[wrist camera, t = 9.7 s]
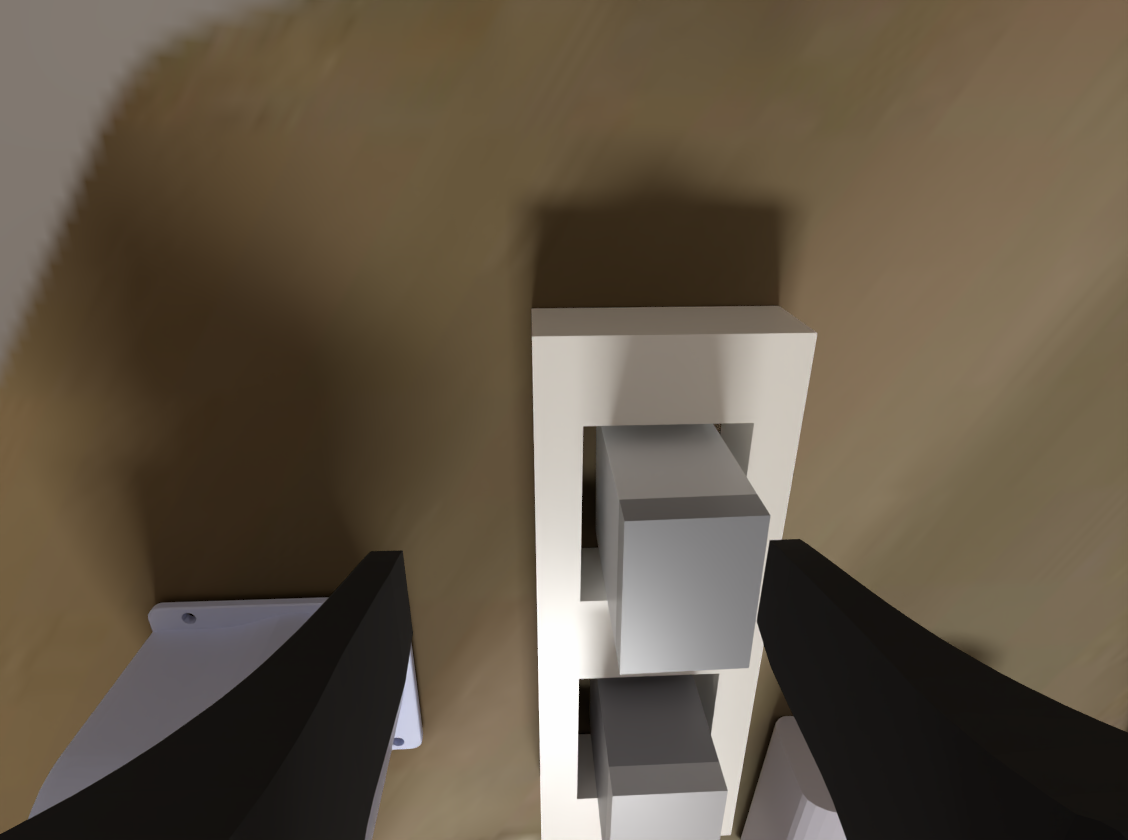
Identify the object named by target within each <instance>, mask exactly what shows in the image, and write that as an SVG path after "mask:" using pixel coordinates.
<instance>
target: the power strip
mask: <svg viewBox="0 0 1128 840" xmlns="http://www.w3.org/2000/svg"><path fill="white" fill-rule="evenodd" d="M531 313H532V365H533V418H534V470H535V522H536V575H537V627H538V679H539V731H540V784H541V836H542V840H602V837H601V828H600V818H599V809H598V799H597V789H596V780H595V770H594V761H593V751H592V742H591V734H578V710H579V679H588V678H614V677H640V676H667V675H693V677H694V680H695V684H696V687H697V690H698V694H699V697H700V700H701V703H702V707H703V710H704V713H705V717H706V720H707V723H708V727H709V730H710V733H711V737H712V740H713V743H714V747H715V750H716V753H717V756H718V760H719V763H720V766H721V770H722V773H723V776H724V780H725V783H726V786H727V790H728V793H727V799H726V805H725V811H724V817H723V823H722V830H721V835H731V830H732V825H733V819H734V813H735V807H736V801H737V796H738V790H739V784H740V778H741V772H742V767H743V761H744V755H745V749H746V744H747V738H748V732H749V726H750V720H751V715H752V709H753V703H754V697H755V691H756V686H757V680H758V674H759V668H760V663H761V657H762V651H763V645H764V644H763V641H762V638H761V634H760V631H759V628H758V624H757V615H758V609H759V602H760V596H761V590H762V584H763V578H764V572H765V566H766V560H767V553H768V547H769V541H770V540H782V535H783V529H784V524H785V518H786V512H787V506H788V500H789V495H790V489H791V483H792V477H793V471H794V466H795V460H796V454H797V448H798V443H799V437H800V431H801V425H802V419H803V414H804V408H805V402H806V396H807V390H808V385H809V379H810V373H811V367H812V362H813V356H814V350H815V344H816V338H817V332H816V331H814V330H813V329H811V328H810V327H808V326H807V325H806V324H804V323H803V322H801V321H800V320H799V319H797V318H796V317H794V316H793V315H792V314H790V313H789V312H787V311H786V310H785V309H783V308H782V307H780V306H715V307H622V308H531ZM721 423H722V424H721ZM670 424H721V432H720V436H721V437H722V439H723V440H724V442H725V444H726V445H727V447H728V448H729V450H730V451H731V453H732V455H733V456H734V458H735V459H736V461H737V463H738V464H739V466H740V467H741V469H742V471H743V472H744V474H745V475H746V477H747V479H748V480H749V482H750V483H751V485H752V487H753V488H754V490H755V491H756V493H757V495H758V496H759V498H760V499H761V501H762V503H763V504H764V506H765V507H766V509H767V511H768V512H769V514H770V515H771V516H770V523H769V530H768V537H767V544H766V551H765V558H764V565H763V572H762V579H761V586H760V594H759V601H758V608H757V615H756V622H755V629H754V636H753V643H752V650H751V657H750V664H749V668H740V669H720V670H701V671H681V672H661V673H641V674H622V675H620V672H619V666H618V660H617V654H616V648H615V643H614V637H613V631H612V625H611V619H610V613H609V607H608V601H607V595H606V589H605V583H604V577H603V571H602V566H601V560H600V554H599V548H581V526H582V465H583V426H619V425H670Z"/></svg>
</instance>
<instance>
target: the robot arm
mask: <svg viewBox="0 0 1128 840" xmlns="http://www.w3.org/2000/svg"><path fill="white" fill-rule="evenodd" d="M188 613H191V614H193V615H194V616H195V617H194V616H191V615H189V614H188ZM148 620H149V622H150V625H151V628H152V631H153V632H152V634H151V635H150V636H149V638H148V639H147V640H146V642H145V643H144V644H143V646H142V647H141V648H140V650H139V651H138V652H137V654H136V655H135V656H134V658H133V659H132V660H131V662H130V663H129V664H128V666H127V667H126V669H125V670H124V671H123V673H122V674H121V675H120V677H119V678H118V679H117V681H116V682H115V683H114V685H113V686H112V687H111V689H110V690H109V691H108V693H107V694H106V695H105V697H104V698H103V699H102V701H101V702H100V703H99V705H98V706H97V708H96V709H95V710H94V712H93V713H92V714H91V716H90V717H89V718H88V720H87V721H86V722H85V724H84V725H83V726H82V728H81V729H80V730H79V732H78V733H77V734H76V736H75V737H74V738H73V740H72V741H71V742H70V744H69V745H68V746H67V748H66V749H65V751H64V752H63V753H62V755H61V756H60V757H59V759H58V760H57V762H56V763H55V765H54V766H53V768H52V769H51V771H50V772H49V774H48V776H47V778H46V780H45V782H44V784H43V785H42V787H41V789H40V791H39V794H38V796H37V798H36V800H35V803H34V805H33V807H32V810H31V813H30V815H29V818H28V820H26V821H24V822H22V823H21V824H19V825H17V826H15V827H13V828H11V829H9V830H8V831H6V832H4V833H2V834H0V840H372V837H373V832H374V828H375V823H376V819H377V814H378V810H379V805H380V800H381V796H382V791H383V787H384V782H385V778H386V773H387V768H388V764H389V759H390V755H391V750H392V749H412V748H416V747H418V746H420V744H421V743H422V738H423V729H422V721H421V713H420V705H419V697H418V689H417V681H416V673H415V666H414V658H413V650H412V635H413V631H412V623H411V615H410V607H409V599H408V591H407V583H406V574H405V566H404V558H403V551H371V552H370V553H369V554H368V555H367V556H366V557H365V558H364V559H363V560H362V561H361V562H360V563H359V564H358V565H357V567H356V568H355V569H354V570H353V571H352V572H351V573H350V574H349V576H348V577H347V578H346V579H345V580H344V581H343V582H342V583H341V585H340V586H339V587H338V588H337V589H336V590H335V591H334V592H333V593H332V595H331V596H330V597H323V598H291V599H260V600H228V601H197V602H165V603H158V604H156V605H155V606H154V607H153V608H152V609H151V611H150V612H149V614H148ZM757 624H758V628H759V631H760V634H761V638H762V641H763V644H764V647H765V650H766V653H767V656H768V659H769V662H770V665H771V668H772V670H773V673H774V675H775V677H776V679H777V682H778V684H779V686H780V688H781V690H782V692H783V694H784V697H785V699H786V701H787V703H788V705H789V707H790V709H791V712H792V714H793V716H794V718H795V720H796V722H797V724H798V726H799V728H800V731H801V733H802V735H803V737H804V739H805V741H806V743H807V745H808V747H809V750H810V752H811V754H812V756H813V758H814V760H815V762H816V764H817V766H818V769H819V771H820V773H821V775H822V777H823V780H824V782H825V784H826V787H827V789H828V791H829V794H830V796H831V798H832V801H833V803H834V806H835V809H836V812H837V814H838V817H839V820H840V823H841V826H842V828H843V831H844V834H845V837H846V839H847V840H1128V732H1125V731H1123V730H1120V729H1118V728H1116V727H1113V726H1111V725H1108V724H1106V723H1104V722H1101V721H1099V720H1097V719H1094V718H1092V717H1090V716H1088V715H1085V714H1083V713H1081V712H1079V711H1076V710H1074V709H1072V708H1070V707H1068V706H1065V705H1063V704H1061V703H1059V702H1057V701H1055V700H1053V699H1051V698H1049V697H1047V696H1045V695H1043V694H1041V693H1039V692H1037V691H1035V690H1032V689H1030V688H1028V687H1026V686H1024V685H1022V684H1020V683H1018V682H1016V681H1015V680H1013V679H1011V678H1009V677H1007V676H1005V675H1003V674H1001V673H999V672H997V671H996V670H994V669H992V668H990V667H989V666H987V665H985V664H983V663H982V662H980V661H978V660H976V659H974V658H973V657H971V656H969V655H967V654H966V653H964V652H962V651H960V650H959V649H957V648H955V647H954V646H952V645H950V644H949V643H947V642H945V641H944V640H942V639H941V638H939V637H937V636H936V635H934V634H933V633H931V632H930V631H928V630H927V629H925V628H924V627H922V626H921V625H919V624H918V623H916V622H915V621H913V620H911V619H910V618H908V617H907V616H905V615H904V614H903V613H901V612H900V611H898V610H897V609H895V608H894V607H892V606H891V605H890V604H888V603H887V602H885V601H884V600H883V599H881V598H880V597H878V596H877V595H876V594H874V593H873V592H871V591H870V590H869V589H867V588H866V587H865V586H863V585H862V584H861V583H859V582H858V581H856V580H855V579H854V578H852V577H851V576H850V575H848V574H847V573H846V572H844V571H843V570H842V569H840V568H839V567H838V566H836V565H835V564H834V563H832V562H831V561H830V560H828V559H827V558H826V557H824V556H823V555H822V554H820V553H819V552H818V551H816V550H815V549H814V548H812V547H811V546H809V545H808V544H806V543H805V542H803V541H802V540H800V539H790V540H770V541H769V547H768V553H767V560H766V566H765V572H764V578H763V584H762V590H761V596H760V602H759V609H758V615H757ZM397 737H398V738H397Z"/></svg>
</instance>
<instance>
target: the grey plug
mask: <svg viewBox="0 0 1128 840" xmlns="http://www.w3.org/2000/svg"><path fill="white" fill-rule="evenodd" d="M770 516H771V515H770V514H769V512H768V511H767V509H766V507H765V506H764V504H763V503H762V501H761V499H760V498H759V496H758V495H757V493H756V491H755V490H754V488H753V487H752V485H751V483H750V482H749V480H748V479H747V477H746V475H745V474H744V472H743V471H742V469H741V467H740V466H739V464H738V463H737V461H736V459H735V458H734V456H733V455H732V453H731V451H730V450H729V448H728V447H727V445H726V444H725V442H724V440H723V439H722V437H721V436H720V434H719V432H718V431H717V429H716V428H715V426H714V424H670V425H619V426H596V526H595V530H596V536H597V542H598V548H599V554H600V560H601V566H602V571H603V577H604V583H605V589H606V595H607V601H608V607H609V613H610V619H611V625H612V631H613V637H614V643H615V648H616V654H617V660H618V666H619V672H620V675H622V674H641V673H661V672H681V671H701V670H720V669H740V668H749V664H750V657H751V650H752V643H753V636H754V629H755V622H756V615H757V608H758V601H759V594H760V586H761V579H762V572H763V565H764V558H765V551H766V544H767V537H768V530H769V523H770Z"/></svg>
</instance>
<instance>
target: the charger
mask: <svg viewBox="0 0 1128 840" xmlns="http://www.w3.org/2000/svg"><path fill="white" fill-rule="evenodd" d="M740 840H847V839H846V837H845V834H844V831H843V828H842V826H841V823H840V820H839V817H838V814H837V812H836V809H835V806H834V803H833V801H832V798H831V796H830V794H829V791H828V789H827V787H826V784H825V782H824V780H823V777H822V775H821V773H820V771H819V769H818V766H817V764H816V762H815V760H814V758H813V756H812V754H811V752H810V750H809V747H808V745H807V743H806V741H805V739H804V737H803V735H802V733H801V731H800V728H799V726H798V724H797V722H796V720H795V718H794V716H783V717H781V718H779V720H778V721H777V722H776V724H775V727H774V730H773V734H772V737H771V740H770V744H769V747H768V750H767V754H766V757H765V760H764V763H763V767H762V770H761V773H760V777H759V780H758V783H757V786H756V790H755V793H754V796H753V800H752V803H751V806H750V810H749V813H748V816H747V819H746V823H745V826H744V829H743V833H742V836H741V839H740Z"/></svg>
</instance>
